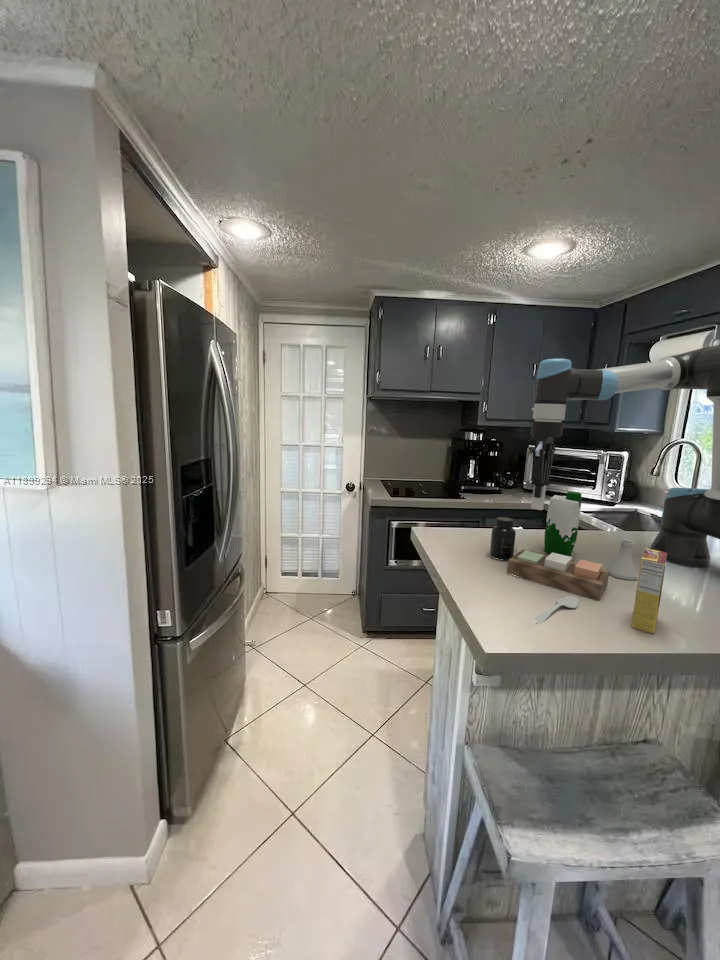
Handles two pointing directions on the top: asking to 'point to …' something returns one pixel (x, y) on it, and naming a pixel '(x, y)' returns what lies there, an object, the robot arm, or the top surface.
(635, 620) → the candy box
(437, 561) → the top surface
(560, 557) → the white rectangular block
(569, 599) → the spoon
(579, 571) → the terracotta key
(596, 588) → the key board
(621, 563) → the flask
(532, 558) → the sage key
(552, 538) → the milk carton
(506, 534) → the supplement bottle
